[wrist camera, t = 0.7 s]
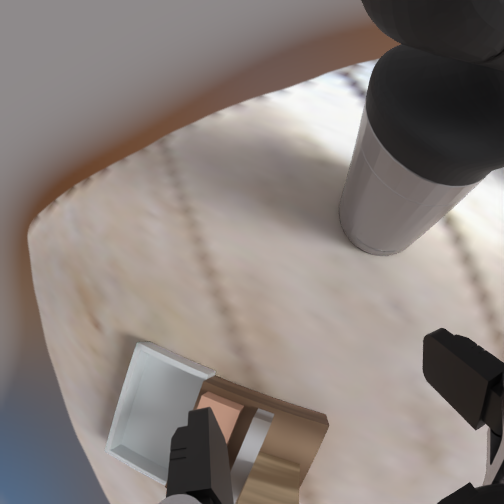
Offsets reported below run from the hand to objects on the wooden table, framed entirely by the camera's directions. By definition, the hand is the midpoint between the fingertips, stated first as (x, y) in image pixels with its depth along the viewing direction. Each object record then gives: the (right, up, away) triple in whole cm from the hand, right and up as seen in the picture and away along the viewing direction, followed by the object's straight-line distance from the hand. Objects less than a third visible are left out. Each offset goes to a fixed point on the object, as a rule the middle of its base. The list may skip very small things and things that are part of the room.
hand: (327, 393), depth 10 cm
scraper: (-1, -16, +14) cm, 21 cm away
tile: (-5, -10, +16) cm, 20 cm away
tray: (-12, -13, +21) cm, 27 cm away
